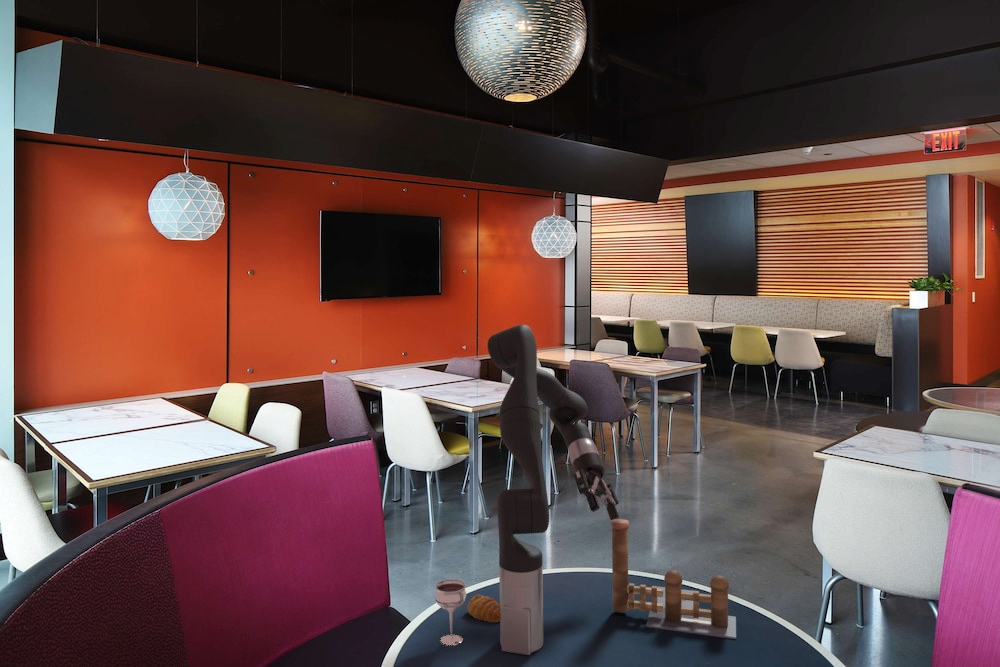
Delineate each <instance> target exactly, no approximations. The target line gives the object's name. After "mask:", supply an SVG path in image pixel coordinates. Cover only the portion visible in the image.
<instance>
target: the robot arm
mask: <svg viewBox="0 0 1000 667" xmlns="http://www.w3.org/2000/svg"><path fill="white" fill-rule="evenodd" d="M537 349H538V348H537V342H536V338H535V335H534V332H533V330H532V329H531V328H530V326H528V325H527V324H518V325H514V326H512V327H510V328H507V329H504V330H502V331H499V332H496V333H494V334H493V335H491V336H490V337H489V338H488V341H487V351H488V354H489V357H490V359H491V360H492V362H493V363H494V364H495V366H496V367H497V368H498V369H500V370H501V371H502V372H504V373H506V375H508V376H510V377H511V378H513V379H512V382H511V384H510V385H509V387H508V389H507V392H506V393H505V395H504V397H503V400H502V401H501V402H502V403H501V405H500V408H499V429H500V431H499V432H500V438H501V440H502V442H503V443H504V445H505V448H507V450H508V452H510V454H511V455H512V456H513V458H514V459H515V460H516V461H517V463H518V464H519V465H520V467H521V468H522V470H523V472H524V474H525V476H526V478H527V481H528V483H529V486H530V488H513V489H512V488H511V489H503V490H500V492H499V493H498V495H497V496H498V497H497V500H496V501H497V503H496V509H497V510H496V511H497V527H498V541H499V542H498V545H499V546H498V547H499V549H498V551H499V553H498V554H499V555H498V558H499V559H498V562H499V563H498V564H499V565H498V567H499V568H498V569H499V570H498V571H499V572H498V573H499V574H498V575H499V578H498V579H499V583H498V584H499V604H500V621H499V634H500V635H499V636H500V637H499V640H500V641H499V642H500V647H501V651H502V652H507V653H512V654H513V653H514V654H519V655H525V656H526V655H527V656H531V654H532V653H534V652H536V651H538V650H540V649H541V648H542V647H543V645H544V595H543V594H544V592H543V591H544V590H543V588H544V587H543V586H544V584H543V582H544V581H543V580H544V578H543V575H544V574H543V573H544V572H543V571H544V570H543V562H544V561H543V552H542V550H541V549H540V548H538V547H537V546H535V545H533V544H531V543H527V542H524V541H523V540H520V539H518V538H517V536H515V535H524V534H525V535H527V534H529V535H530V534H543V533H546V531H548V528H549V524H550V506H549V501H548V500H549V499H548V497H549V496H548V493H547V492H548V491H547V485H546V478H545V471H544V464H543V463H544V462H543V453H542V451H543V450H542V432H541V431H542V430H541V429H542V428H541V427H542V426H541V417H540V416H541V415H540V407H539V400H540V401H541V402H542V403H543V405H544V406H545V407H546V408H548V409H549V412H548V415H549V419H550V420H551V422H552V423H553V425H554V426H555V427H556V428H557V429H558V431H559V432H560V434H561V435H562V436H561V437H562V438H563V440H564V442H565V445H566V448H567V451H568V456H569V459H570V463H571V465H572V469H573V471H574V473H573V477H574V480H575V482H576V486H577V490H578V493H579V494H580V495H583V497H584V498H585V499H586V500H587V503H588V506H589V509H590V512H591V513H592V512H593V513H595V512H596V511H598V510H599V509H600V504H599V502H601V503H602V504H603V505H604V506H605V507H606V510H607V514H608V516H609V517H608V518H609V519H610V521H612V520H614V519H620V518H619V517H620V516H619V515H620V514H619V513H618V509H617V507H616V506H617V505H619V500H618V498H617V495H616V492H615V491H614V488H613V486H612V484H611V483H608V484H606V481H605V480H604V479H603V477H604V475H605V473H606V472H605V471H606V470H605V467H604V466H605V465H604V463H603V461H602V458H601V456H600V453H599V451H598V448H597V446H596V444H595V443H594V440H593V437H592V435H591V433H590V432H591V431H590V430H589V428H588V426H587V425H586V424H585V423H582V422H578V421H580V420H582V419H583V418H585V417H586V416H587V414H588V410H589V408H588V405H587V402H586V401H585V400H584V399H583V396H580V395H579V394H578V393H576V392H575V391H572V390H570V389H568V388H566V387H565V386H563V384H562V383H561V382H560V381H559V380H558V378H556V376H555V375H553V374H551V372H548V371H547V370H544V369H541V368H538V367H537V365H538V360H537V359H538V356H537V355H538V352H537V351H538V350H537ZM582 485H583V486H582Z"/></svg>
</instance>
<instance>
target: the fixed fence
mask: <svg viewBox="0 0 1000 667" xmlns="http://www.w3.org/2000/svg"><path fill="white" fill-rule="evenodd" d="M663 580H664V587H665V619H666V620H668V621H670V622H680V621H681V617H682V615H687V616H693V618H697V619H699V617H703V618H711V625H712V626H714V627H716V628H727V627H728V616H729V588H730V584H729V580H728V579H727V577H725V576H723V575H719V574H718V575H717V574H716V575H714V576H712V578H710V582H709V585H710V589H711V590H710V594H709V593H708V594H706V593H700V591H698V590H692V591H693V593H692V592H683V591H682V586H683V585H682V584H683V577H682V574H681V573H680V572H679V571H678V570H674V569H671V570H668V571H667V572H666V573H665V574H664V579H663ZM682 600H689V601H693V608H691V607H683V606H682ZM700 603H705V604H707V603H708V604H710V609H707V608H706V609H705V608H700Z"/></svg>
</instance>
